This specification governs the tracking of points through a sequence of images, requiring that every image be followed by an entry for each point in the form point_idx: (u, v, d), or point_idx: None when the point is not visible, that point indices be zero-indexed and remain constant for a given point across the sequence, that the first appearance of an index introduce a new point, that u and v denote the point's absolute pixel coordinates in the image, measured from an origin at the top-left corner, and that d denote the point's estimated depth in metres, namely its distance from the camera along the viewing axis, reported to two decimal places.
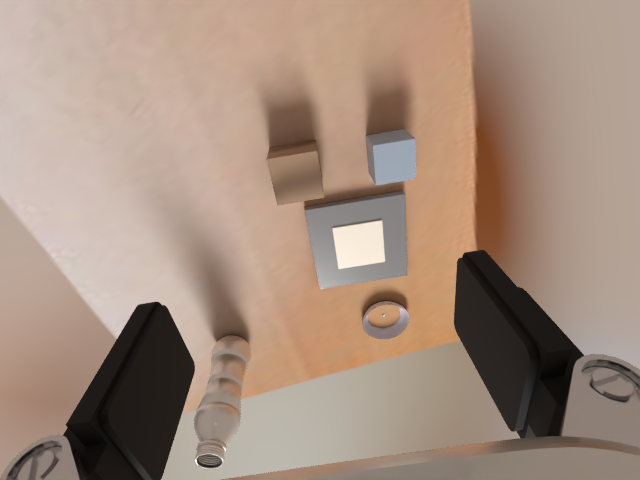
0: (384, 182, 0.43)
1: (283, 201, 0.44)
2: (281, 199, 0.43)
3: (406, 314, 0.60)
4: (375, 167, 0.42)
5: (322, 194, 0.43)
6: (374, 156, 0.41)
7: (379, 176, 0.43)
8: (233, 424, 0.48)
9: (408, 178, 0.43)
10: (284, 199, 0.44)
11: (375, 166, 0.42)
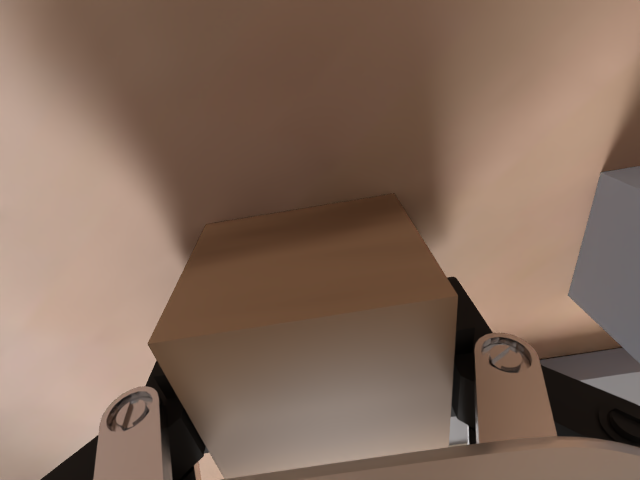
0: None
1: None
2: None
3: None
4: None
5: None
6: None
7: None
8: None
9: None
10: None
11: None
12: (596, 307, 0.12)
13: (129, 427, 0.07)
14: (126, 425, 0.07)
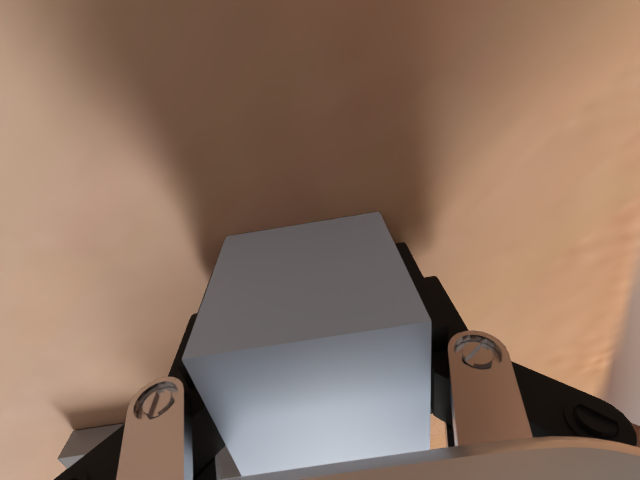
0: None
1: None
2: None
3: None
4: (226, 434, 0.08)
5: None
6: (207, 397, 0.08)
7: (252, 459, 0.09)
8: None
9: None
10: None
11: (224, 431, 0.08)
12: None
13: (154, 416, 0.07)
14: (152, 414, 0.08)
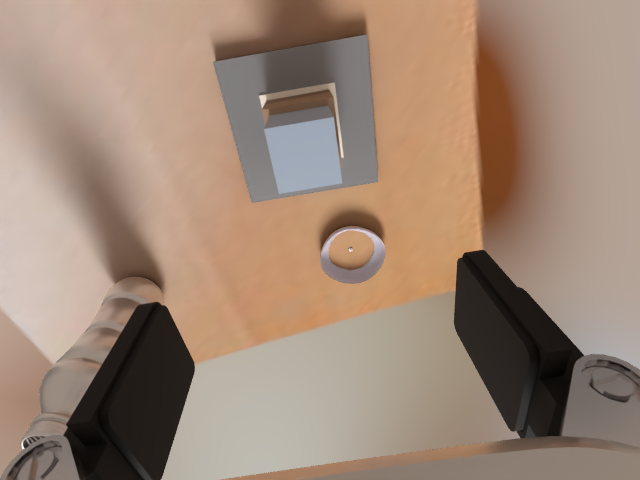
0: (292, 189, 0.27)
1: None
2: None
3: (382, 247, 0.43)
4: (273, 165, 0.26)
5: None
6: (269, 147, 0.25)
7: (281, 179, 0.27)
8: None
9: (330, 182, 0.27)
10: None
11: (273, 163, 0.26)
12: None
13: None
14: None
